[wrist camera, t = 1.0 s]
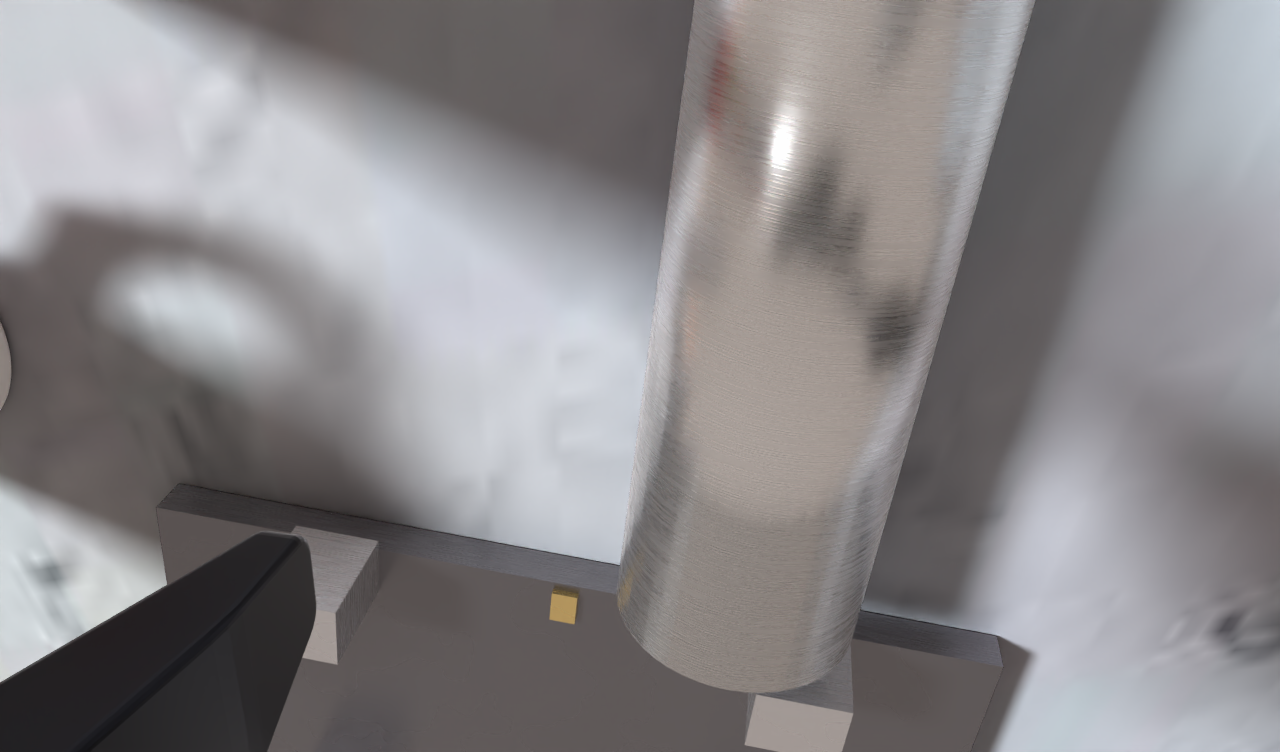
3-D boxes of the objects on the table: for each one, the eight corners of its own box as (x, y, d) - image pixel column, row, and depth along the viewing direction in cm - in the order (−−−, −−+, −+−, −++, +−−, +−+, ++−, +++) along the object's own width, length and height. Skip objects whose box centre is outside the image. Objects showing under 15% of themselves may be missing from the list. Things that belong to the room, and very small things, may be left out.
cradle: (999, 628, 24) (1026, 747, 21) (902, 884, 29) (912, 1012, 25) (177, 475, 25) (90, 566, 22) (212, 743, 30) (144, 848, 27)
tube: (763, -300, 16) (705, -345, 12) (1088, -263, 16) (1148, -298, 11) (648, 507, 24) (587, 652, 20) (860, 558, 23) (844, 721, 19)
